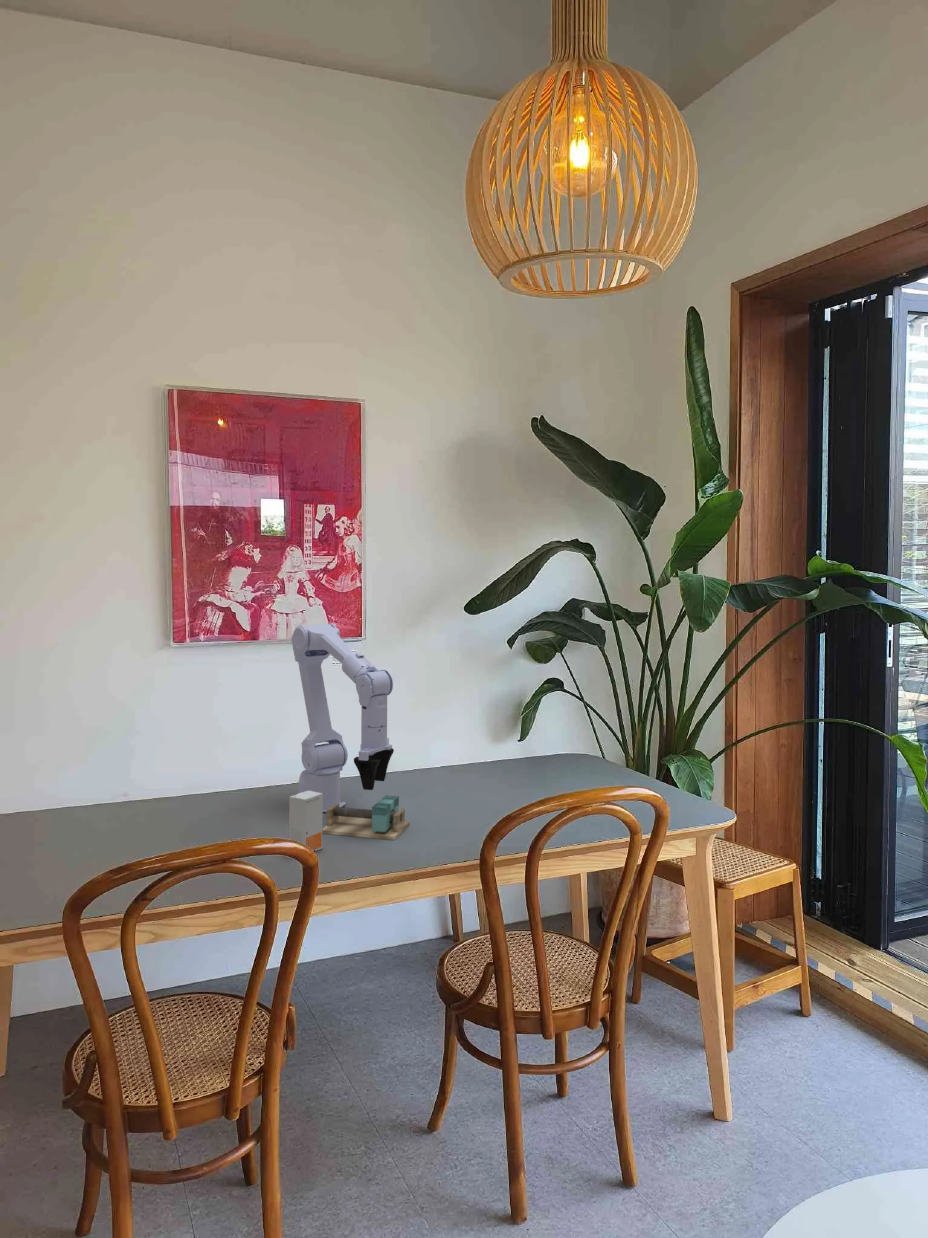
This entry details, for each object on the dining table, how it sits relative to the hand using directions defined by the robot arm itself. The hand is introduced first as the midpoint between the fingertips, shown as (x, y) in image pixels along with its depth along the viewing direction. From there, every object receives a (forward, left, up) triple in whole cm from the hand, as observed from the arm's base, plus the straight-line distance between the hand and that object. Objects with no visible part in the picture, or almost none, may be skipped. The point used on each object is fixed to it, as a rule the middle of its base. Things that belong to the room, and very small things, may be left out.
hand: (374, 785), depth 218 cm
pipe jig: (-1, -1, -10) cm, 10 cm away
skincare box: (-8, -18, -10) cm, 23 cm away
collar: (+3, -1, -8) cm, 9 cm away
